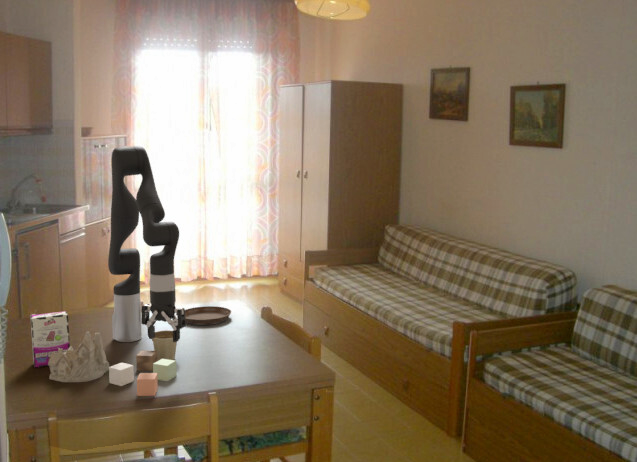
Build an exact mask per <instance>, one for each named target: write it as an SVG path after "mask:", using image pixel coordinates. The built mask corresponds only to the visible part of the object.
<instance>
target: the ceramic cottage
mask: <svg viewBox="0 0 637 462" xmlns="http://www.w3.org/2000/svg"><path fill="white" fill-rule="evenodd" d="M93 337H94V338H92V335H91V332H90V331H85V334H84V338H82V339H81V342H80V344H79V345H78V347H77V349H75V348H74V347H73V345H70V347H69V349H68V350H67V351H66V352H65V353H63V349H62V348H61V349H60V348H59V349H58V353H51V356H50V359H49V362H48V365H49V366H48V367H49V370H50V373H49V377H48V378H49V380H51V381H55V382H61V383H84V382H85V383H86V382H91V381H95V380H97V379H100V378H102V377H103V376H104V375H105V374H106V373H107V372H109V367H111V366H110V362H109V361H108V360H107V355H106V353H105V351H104V347H103V339H102V336H101V332H95V333H94V336H93ZM104 373H105V374H104Z"/></svg>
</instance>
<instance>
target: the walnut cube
mask: <svg viewBox="0 0 637 462" xmlns="http://www.w3.org/2000/svg"><path fill="white" fill-rule="evenodd" d="M135 356H136V357H135V359H136V361H135V363H136V371H144V372H153V363H155V362H157V351H154V350H140V351H139V352H138V353H137V354H136V355H135Z"/></svg>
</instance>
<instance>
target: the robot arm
mask: <svg viewBox="0 0 637 462" xmlns="http://www.w3.org/2000/svg"><path fill="white" fill-rule="evenodd" d="M110 165H111V182H112V183H111V184H112V187H111V192H112V193H111V208H110V240H109V249H108V259H107V262H108V263H107V265H108V266H107V267H108V271H109V273H110V274H111V275H113V276H120V275H121V276H122V275H129V276H128V277H127V278H126V279H124V280H122V281H121V282H120V281H119V282H118V283H116V284H115V285H114V286H113V307H114V308H113V310H114V311H113V313H112V315H111V319H112V320H111V321H112V324H111V325H112V340H115V341H116V342H120V343H131V342H136V341H139V340H141V339H142V325H145V326H146V327H147V336H148V339H149V340H152V339H153V338H155V332H156V327H155V325H156V322H165V323H166V322H167V324H168V325H169V326H170V327H171V328H172V331H173V342H179V341H180V339H181V330H182V329H184V328H186V327H187V324H186V323H187V322H186V320H185V310H186V309H185V307H181V308H177V307H176V297H177V296H176V278H175V255H176V250H177V248H178V247H177V246H178V243H179V240H180V239H179V238H180V229H179V227H178V225H177V224H176V223H175V222H174V221H163V220H164V219H165V216H166V213H165V209H164V207H163V204H162V201H161V199H160V197H159V194H158V192H157V188H156V183H155V179H154V175H153V169H152V166H151V163H150V159H149V156H148V153H147V151H146V149H145V147H143V146H140V145H139V146H138V145H135V146H133V145H132V146H124V147H123V146H121V147H116V148H114V149H113V150H112V152H111V164H110ZM139 175H141V179H142V180H141V182H140V185H139V187H138V190H137V193H136V198H135V196H134V195H133V193H132V192H131V191H130V190H129V189H128V187H127V185H126V183H125V179H124V178H125V177H127V176H128V177H129V176H139ZM140 217H141V221H142V240H143V242H144V243H145V244H146V245H147V246H149V247H163V249H162V250H161V251H159V252H156V253H154V254H151V256H150V257H149V303H150V304H149V303H146V304H145V305H142V306H141V253H140V251H139V249H137V248H122V246H123V244H124V243H125V241H126V240H127V239H128V238H129V237H130V236H131V234H133V232H134V231H135V230H136V229H137V227H138V225H139V219H140ZM162 221H163V222H162ZM150 312H151V316H150Z"/></svg>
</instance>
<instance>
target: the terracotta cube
mask: <svg viewBox="0 0 637 462" xmlns="http://www.w3.org/2000/svg"><path fill="white" fill-rule="evenodd" d="M158 381H159V380H158V378H157V373H153V372H140V373H139V374H138V376H137V379H136V395H137V397H147V396H149V397H150V396H156V394H157V391H158V389H159V383H158Z"/></svg>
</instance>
